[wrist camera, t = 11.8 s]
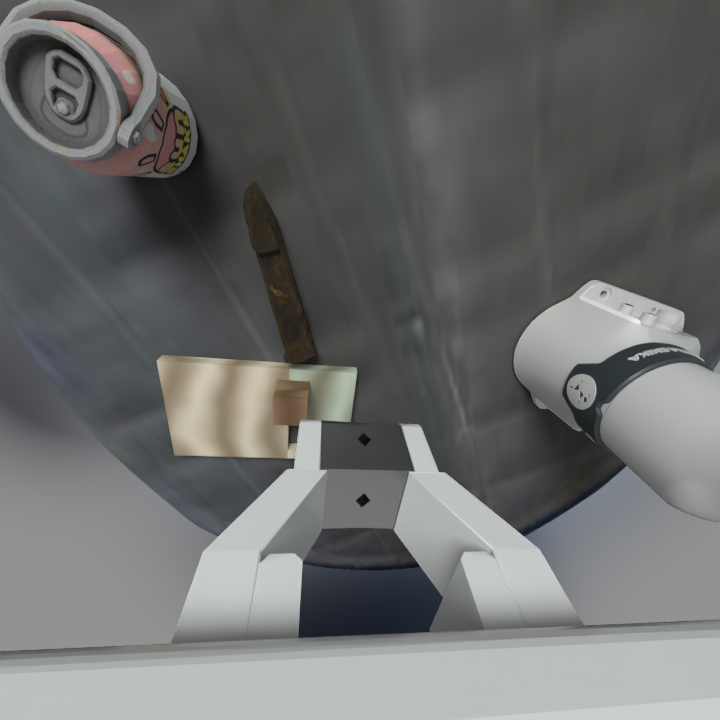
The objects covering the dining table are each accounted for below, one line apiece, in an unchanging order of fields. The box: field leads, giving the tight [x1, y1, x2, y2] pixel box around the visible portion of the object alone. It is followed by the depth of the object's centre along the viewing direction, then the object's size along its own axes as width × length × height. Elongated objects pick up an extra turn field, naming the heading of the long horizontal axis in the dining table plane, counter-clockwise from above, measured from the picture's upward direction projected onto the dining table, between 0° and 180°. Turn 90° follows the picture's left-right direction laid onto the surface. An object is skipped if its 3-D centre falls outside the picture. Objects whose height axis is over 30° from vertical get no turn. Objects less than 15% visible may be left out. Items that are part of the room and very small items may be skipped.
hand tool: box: [243, 182, 317, 363], centre depth 35 cm, size 19×4×5 cm, turn 7°
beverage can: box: [0, 0, 198, 178], centre depth 24 cm, size 9×8×12 cm
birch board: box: [157, 355, 357, 459], centre depth 44 cm, size 24×15×2 cm, turn 83°
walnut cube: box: [273, 380, 310, 426], centre depth 41 cm, size 4×4×4 cm
